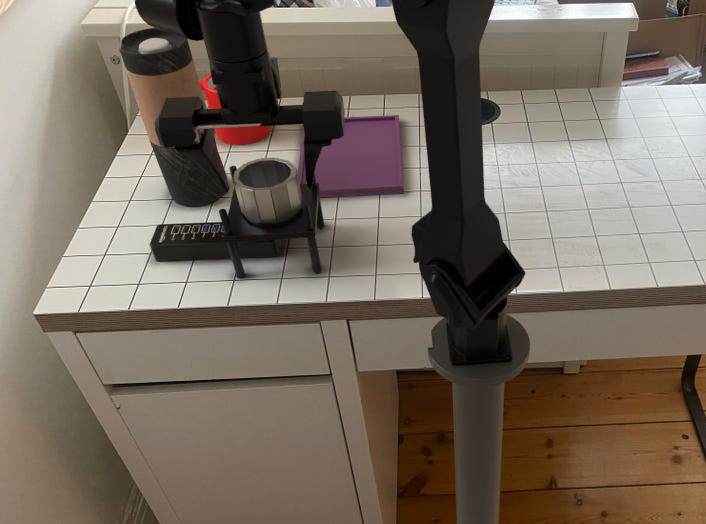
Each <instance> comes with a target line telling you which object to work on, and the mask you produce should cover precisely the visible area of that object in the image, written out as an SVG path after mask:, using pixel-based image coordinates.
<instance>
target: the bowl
mask: <svg viewBox="0 0 706 524" xmlns="http://www.w3.org/2000/svg"><path fill="white" fill-rule="evenodd" d="M233 182H234V184H233V187H234V186H235V189H236V193H237V197H238V201H239V205H240V208H241V212H242V213H243V214H244V215H245V217H246V218H247V219H249V220H251V221H253V222H256V223H260V224H276V223H280V222H284V221H286V220H289V219H290V218H292V217H293V216H295V215H296V214H297V213H298V211H299V210H300V209H301V208H302V195H301V189H300V184H299V179H298V168H297V167H296V166H295V165H294V164H293V163H292V162H291V161H290V160H288V159H284V158H281V157H280V158H279V157H260V158H256V159H252V160H250V161H246V162H244V163H243V164H242V165H240V166H239V167H238V168H237V170H236V171H235V173H234V177H233V180H232V183H233Z"/></svg>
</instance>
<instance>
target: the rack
mask: <svg viewBox="0 0 706 524" xmlns="http://www.w3.org/2000/svg"><path fill="white" fill-rule="evenodd" d="M228 169H229V172H230V176H231V180H232V185H233V191H232V195H231V200H230V204H229V209H228V211H227V209H226V208H220V209H219V210H218V214H219V218H220V220H221V221H220V222H222V224H223V228H224V235H223V239H224V242H225V243H227V245H228V249H229V252H230V255H231V262H232V264H233V269H234V272H235V273H234V274H235V276H236V278H238V279H243V278H245V277H246V272H245V269H244V264H243V261H242V258H241V257H240V254H239V250H238V247H237V243H236V242H245V241H262V240H280V239H281V240H294V239H306V242H307V247H308V253H309V258H310V262H311V268H312V272H313V273H314V274H320V273H322V270H323V269H322V264H321V259H320V254H319V253H320V252H319V248H318V243H317V237H316V236H317V229H318V230H323V229H325V220H324V219H325V218H324V215H323V208H322V201H321V198H320V196H319V189H320V188H319V183H316V178H315V173H314V179H313V184H312V188H308V185H307V184H300V189H301V195H302V208H301V209H300V210H299V211H298V213H297V214H296V215H295V216H293V217H292V218H290V219H289V220H286V221H284V222H280V223H276V224H260V223H256V222H253V221H251V220H249V219H247V218H246V217H245V215H244V214H243V213H242V212H241V208H240V205H239V201H238V197H237V193H236V189H235V186H234V182H233V177H234V173H235V171H236V170H237V169H238V168H237V166H236V165H230V166H229V168H228Z"/></svg>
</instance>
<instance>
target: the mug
mask: <svg viewBox="0 0 706 524" xmlns="http://www.w3.org/2000/svg"><path fill="white" fill-rule="evenodd" d="M199 82H200V86H201V89H202V92H203V91H204V94H205V98H206V102H207V106H208V109H219V108H221V105H220V101H219V97H218V93H217V89H216V85H213V81H212V77H211V73H209V74H208V75H206V76H205V77H204V79H199ZM271 130H272V126H255V127H234V128H214V133H215V136H216V137H217V139H218V140H219V141H220V142H222V143H224V144H227V145H232V146H233V145H237V146H241V145H250V144H254V143H256V142H260V141H261V140H263V139H265V138H267V137H268V135H269V134H270V133H271Z"/></svg>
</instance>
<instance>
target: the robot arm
mask: <svg viewBox="0 0 706 524" xmlns="http://www.w3.org/2000/svg"><path fill="white" fill-rule="evenodd" d="M390 1H391V6H392V10H393V13H394V18H395V22H396V24H397V25H398V27H399V28H400V30H401V31H402V34H404V35H405V37H406V39H407V40H408V41H409V43H410V44H411V46H412V47H413V48H414V50H415V51H416V54H417V55H416V56H417V61H418V70H419V82H420V93H421V94H420V95H421V102H422V104H421V105H422V113H423V125H424V134H425V135H424V136H425V147H426V156H427V167H428V168H427V169H428V178H429V190H430V199H431V210H430V211H428V212H427V213H426V214H425V215H423V216H422V217H421V218H420V219H418V220H417V221H416V222H414V224H412V225H411V232H410V233H411V235H410V236H411V239H412V243H413V247H414V256H413V260H412V261H413V263H414V264H417V263H418V269H419V273H420V276H421V278H422V280H423V282H424V284H425V287H426V290H427V292H428V294H429V298H430V300H431V302H432V305H433V308H434V310H435V313H436V314H437V315H438V316H440V317H442V318H444V317H445V318H446V320H448V322H447V323H446V328H447V337H448V346H449V356H450V363H451V365H453V366H460V365H474V364H488V363H502V362H510V361H512V350H511V345H510V340H509V335H508V329H507V324H506V316H507V315H508V314H507V313H508V296H509V295H510V294H511V293H512V292H513V291H514V290H515V289H516V288H518V287H519V286H520V285H521V283H522V282H523V280H524V278H525V276H526V275H527V274H526V271H525V269H524V268H523V266H521V264H520V262H519V261H518V260H517V259H516V257H515V255H514V254H513V253H512V252H511V250H510V249H509V247H508V246H507V244H506V243H505V242H504V238H503V234H502V229H501V224H500V223H501V222H500V220H499V217H498V216H497V215H496V213H495V212H494V211H493V209H492V208H491V207H490V206H489V204H488V203H487V202H486V197H485V195H486V194H485V172H484V145H483V143H484V142H483V123H482V122H483V120H482V119H483V118H482V117H483V115H482V90H481V87H482V86H481V63H480V62H481V61H480V47H481V42H482V39H483V36H484V34H485V31H486V28H487V26H488V24H489V23H488V22H489V20H490V17H491V15H492V12H493V9H494V6H495V3H496V2H495V1H496V0H390ZM134 6H135V9H136V11H137V13H138V16H139V17H140V18H141V20H142V21H143V22H144V23H146V24H147V25H148V26H150V27H151V28H157V29H160V30H163V31H166V32H169V33H172V34H175V35H178V36H181V37H184V38H187V40H189V41H193V42H198V41H203V43H204V46H205V50H206V54H207V58H208V62H209V71H210V74H211V77H212V81H213V85H216V89H217V93H218V97H219V101H220V105H221V108H219V109H209V108H207V109H205V108H204V104H203V101H202V100H201V98H200V97H179V98H166V99H165V101H164V102H163V104H162V106H161V108H160V111H159V113H158V116H157V118H156V120H155V131H156V134H157V137H158V140H159V143H160V145H161V146H163V147H174V148H175V151H176V152H177V153H179V154H182V153H183V154H186V155H187V156H188V157H189V158H191V159H192V160H193V161H194V162H195V163H196V164H198V165H199V166H200V167H201V168H202V169H203V170H204V171H205V172H206V173H207V174H208V175H209V176H210V177H211V178H212V179H213V180H214V182H215V183H216V184H217V185H218V186H219V187H220V188H221V189H222V190H223V191H224V192H225V193H224V194H229V193H230V183H229V178H228V174H227V172H226V169H225V166H224V164H223V160H222V158H221V156H220V152H219V150H217V149H218V146H217V147H216V145H217V143H216V144H215V141H216V140H215V141H214V137H215V135H214V136H213V132H214V129H215V128H234V127H255V126H270V127H272V126H273V127H274V126H275V127H276V126H294V125H302V128H303V127H304V133H305V136H304V158H305V173H306V182H307V185H308V188H312V184H313V179H314V173H315V168H316V163H317V160H318V158H319V155H320V153H321V150H322V148H323V147H324V146H330V145H332V142H333V139H339V138H341V137H343V136H344V120H345V117H346V112H345V105H344V98H343V95H341V93H340V92H339V91H337V90H317V91H316V90H315V91H314V90H313V91H304V92H303V101H302V104H287V105H286V104H285V105H279V100H281V99H282V95H283V93H282V89H281V88H282V83H281V77H280V69H279V62H278V57H276V56H275V57H274V56H270V52H269V50H268V45H267V39H266V35H265V30H264V29H265V28H264V25H263V19H262V14H261V12H263V11H265V10H267V9H269V8H272V7H274V6H275V0H134ZM212 129H213V131H212ZM507 357H509V358H507Z"/></svg>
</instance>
